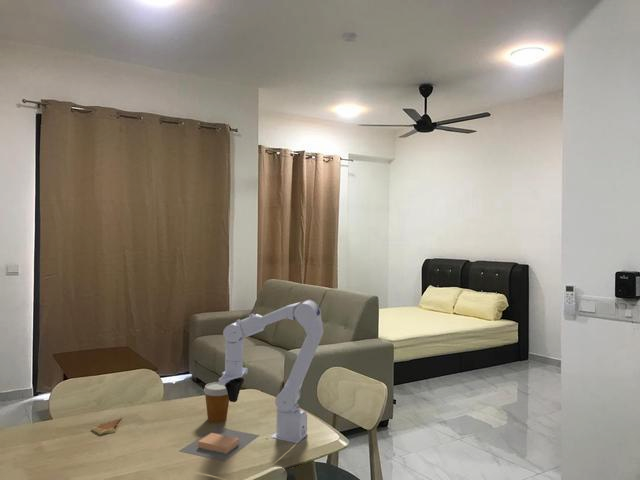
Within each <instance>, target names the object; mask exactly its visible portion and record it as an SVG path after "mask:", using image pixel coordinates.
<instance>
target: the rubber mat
mask: <svg viewBox="0 0 640 480" xmlns="http://www.w3.org/2000/svg"><path fill="white" fill-rule="evenodd" d="M210 433H215V434H220V435H225V436H230V437H235V438H239V445H238V446H237V447H235V448H234V449H233V450H231V451H230V452H228V453H227V454H223V453H219V452H214V451H210V450H205V449H201V448H199V447H198V441H199V440H201V439H202V438H204V437H206V436H207V435H209V434H210ZM258 437H260V435H259V434H255V433H251V432H250V433H248V432H244V431H240V430H233V429H228V428H226V427H225V428H223V427H220V426H217V427H215V428H213V429H212V430H210V431H208V432H207V433H206V434H204V435H202V436H200V437H199V438H197V439H196V440H194V441H192V442H190V443H189V444H188V445H186V446H184V447H183V448H181V449H180V450H178V452H181V453H184V454H189V455H194V456H199V457H204V458H206V459H207V458H208V459H213V460H216V461H221V462H226V461H227V460H229V459H230V458H232V457H233V456H234V455H236V454H237V453H238V452H240V451H241V450H242V449H244V448H245V447H246V446H248V445H249V444H250V443H252V442H253V441H254V440H256V439H257V438H258Z"/></svg>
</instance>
